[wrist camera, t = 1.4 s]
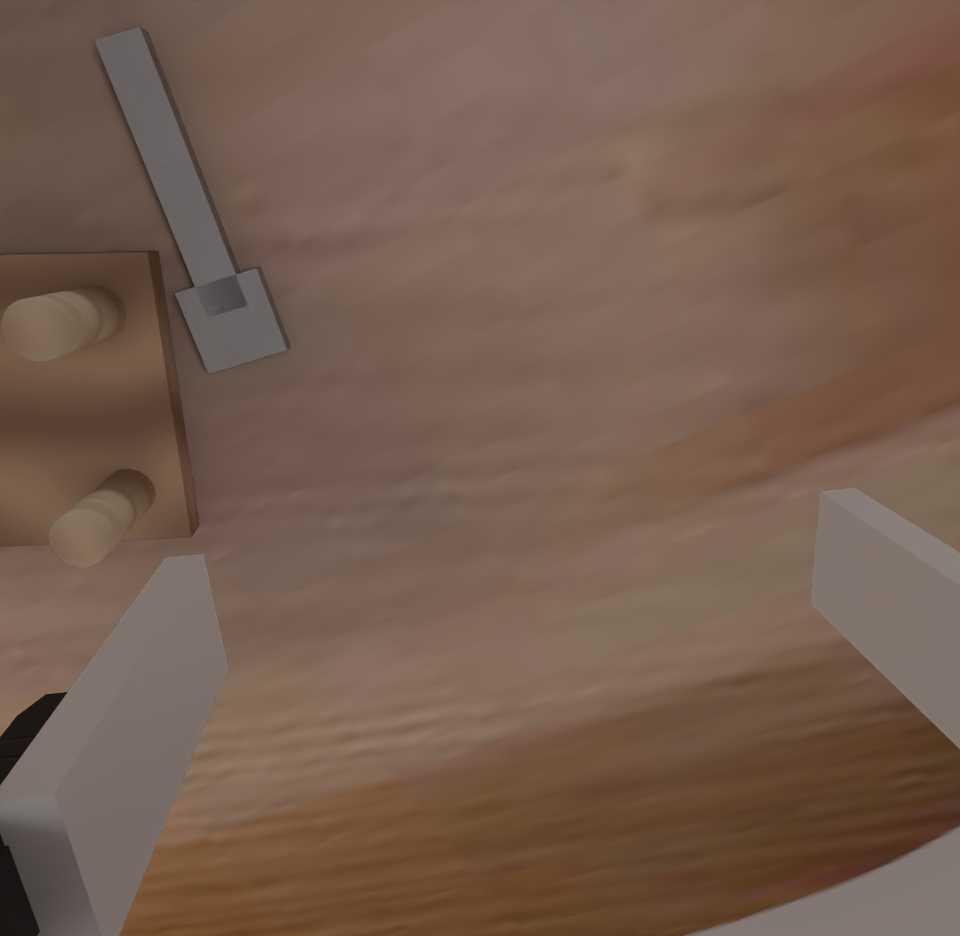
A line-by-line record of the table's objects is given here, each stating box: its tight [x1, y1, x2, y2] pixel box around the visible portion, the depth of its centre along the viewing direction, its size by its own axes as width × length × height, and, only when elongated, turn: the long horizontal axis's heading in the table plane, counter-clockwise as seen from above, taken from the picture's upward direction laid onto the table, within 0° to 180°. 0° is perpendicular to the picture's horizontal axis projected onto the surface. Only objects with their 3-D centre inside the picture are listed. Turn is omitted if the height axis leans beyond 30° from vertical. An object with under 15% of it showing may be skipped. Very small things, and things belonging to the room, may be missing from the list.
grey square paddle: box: [94, 27, 291, 374], centre depth 34 cm, size 14×4×1 cm, turn 16°
